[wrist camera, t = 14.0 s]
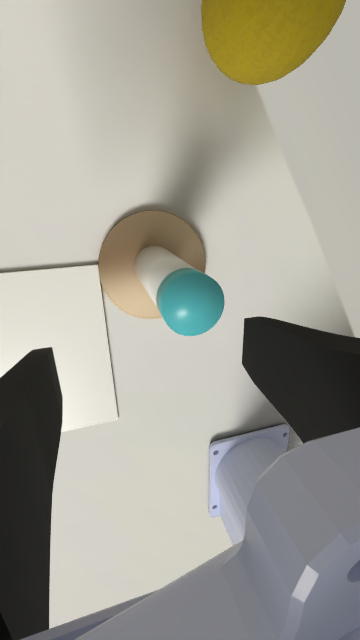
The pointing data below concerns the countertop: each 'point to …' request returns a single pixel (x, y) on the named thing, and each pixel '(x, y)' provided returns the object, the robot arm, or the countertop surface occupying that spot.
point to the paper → (61, 336)
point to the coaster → (125, 248)
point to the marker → (179, 291)
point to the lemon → (265, 35)
